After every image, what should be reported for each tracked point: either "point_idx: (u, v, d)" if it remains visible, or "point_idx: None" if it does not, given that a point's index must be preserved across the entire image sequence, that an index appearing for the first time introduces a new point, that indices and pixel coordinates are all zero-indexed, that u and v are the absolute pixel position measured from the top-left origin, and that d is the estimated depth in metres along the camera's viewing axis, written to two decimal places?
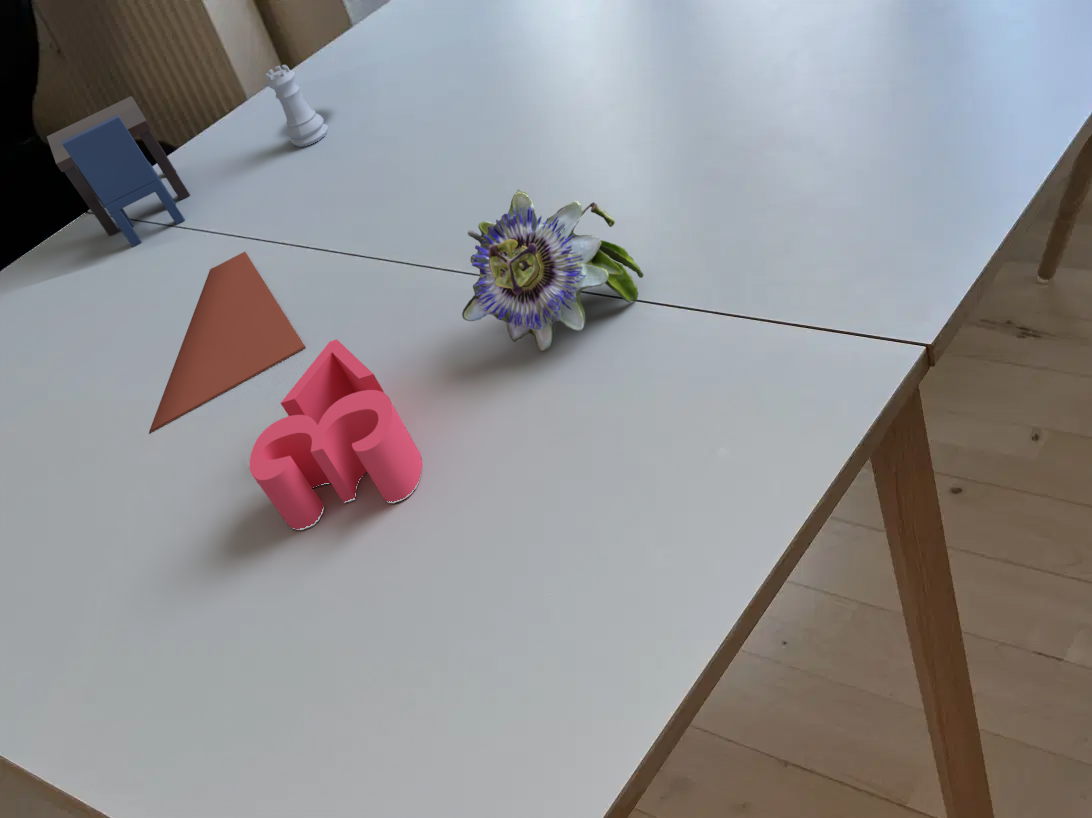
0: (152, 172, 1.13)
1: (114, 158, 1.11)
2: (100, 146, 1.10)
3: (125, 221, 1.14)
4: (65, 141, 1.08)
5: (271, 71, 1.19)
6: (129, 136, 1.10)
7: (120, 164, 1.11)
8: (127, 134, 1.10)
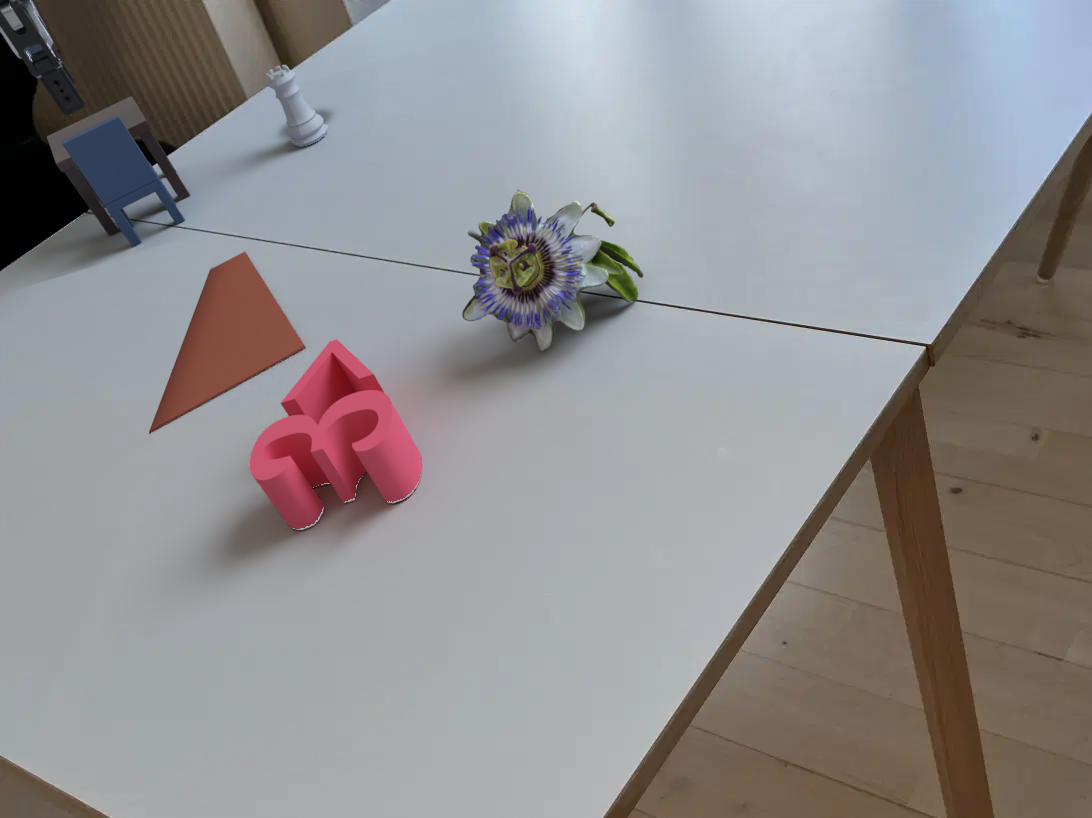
0: (152, 172, 1.13)
1: (114, 158, 1.11)
2: (100, 146, 1.10)
3: (125, 221, 1.14)
4: (65, 141, 1.08)
5: (271, 71, 1.19)
6: (129, 136, 1.10)
7: (120, 164, 1.11)
8: (127, 134, 1.10)
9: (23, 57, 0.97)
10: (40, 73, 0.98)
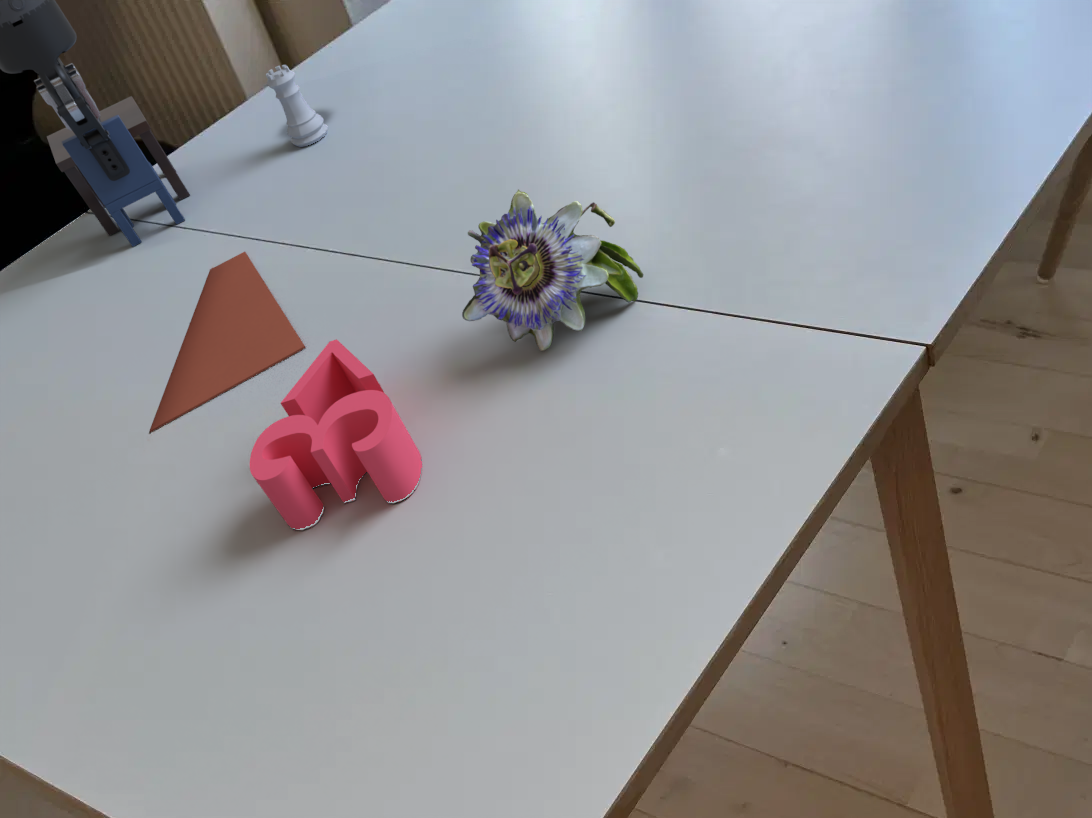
0: (152, 172, 1.13)
1: None
2: None
3: (125, 221, 1.14)
4: (65, 141, 1.08)
5: (271, 71, 1.19)
6: (129, 136, 1.10)
7: None
8: (127, 134, 1.10)
9: (81, 139, 1.05)
10: (91, 145, 1.06)
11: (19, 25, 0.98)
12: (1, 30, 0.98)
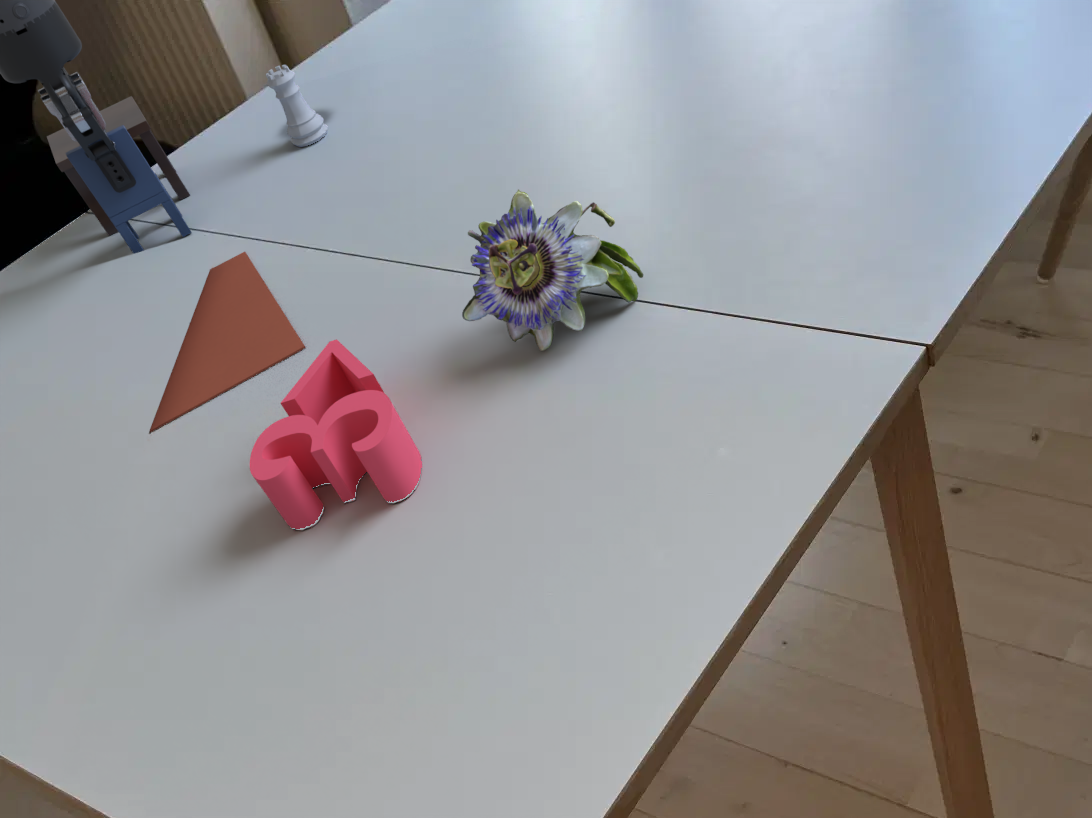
0: (158, 183, 1.10)
1: None
2: None
3: (130, 234, 1.11)
4: (69, 152, 1.05)
5: (271, 71, 1.19)
6: (135, 147, 1.07)
7: None
8: (133, 145, 1.07)
9: (86, 150, 1.02)
10: (96, 156, 1.03)
11: (23, 33, 0.96)
12: (4, 39, 0.95)
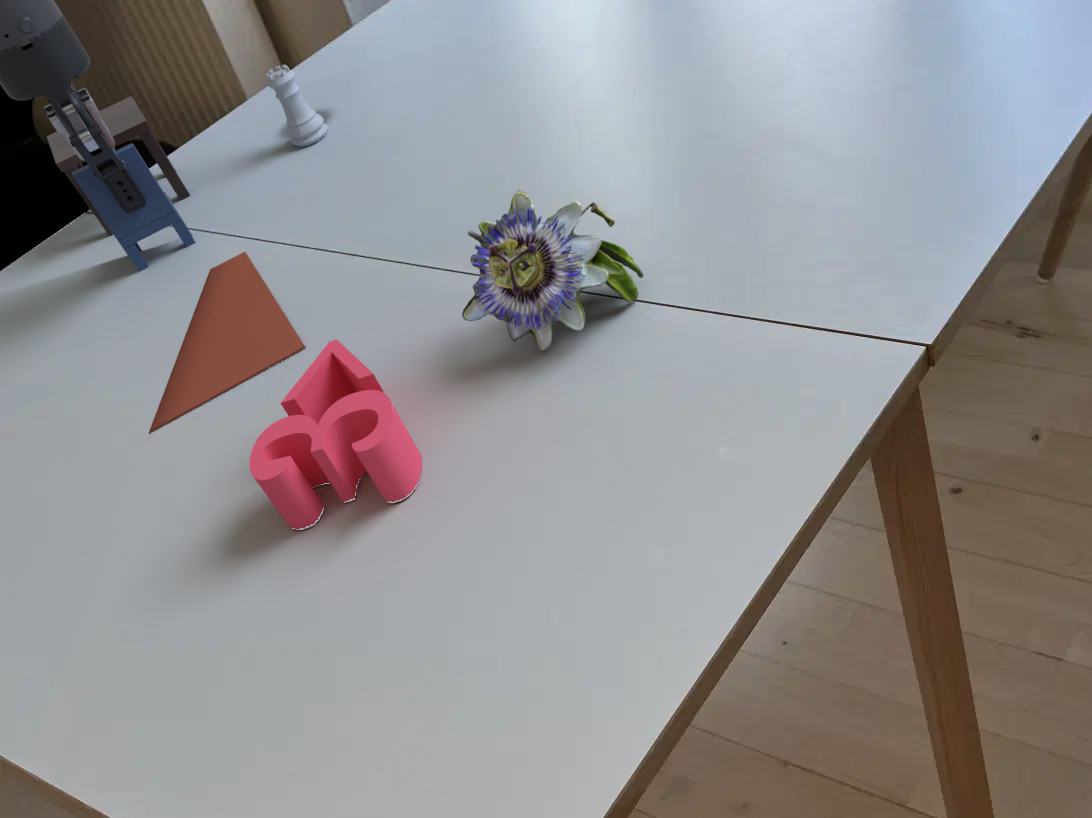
0: (168, 204, 1.05)
1: None
2: None
3: (139, 256, 1.07)
4: (75, 172, 1.01)
5: (271, 71, 1.19)
6: (144, 166, 1.03)
7: None
8: (142, 164, 1.03)
9: (94, 170, 0.97)
10: (105, 176, 0.99)
11: (29, 49, 0.91)
12: (9, 54, 0.91)
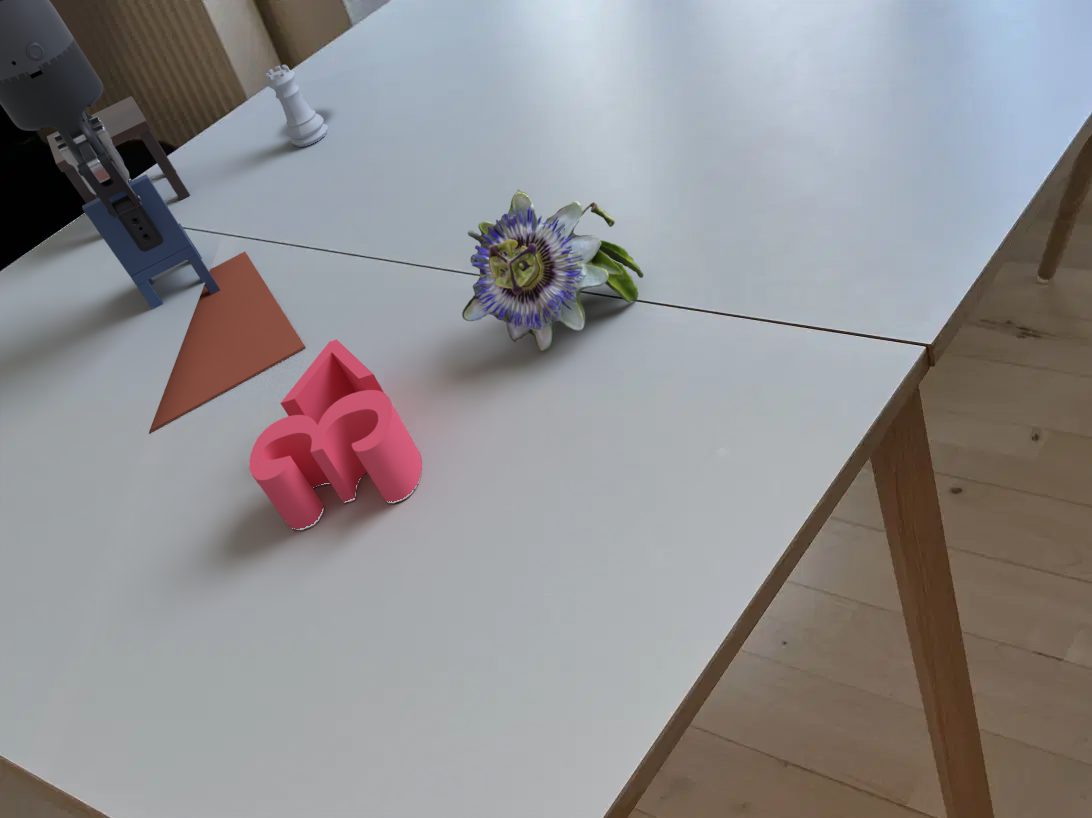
0: (184, 238, 0.99)
1: None
2: None
3: (153, 293, 1.00)
4: (86, 205, 0.94)
5: (271, 71, 1.19)
6: (159, 198, 0.96)
7: None
8: (157, 196, 0.96)
9: (107, 205, 0.90)
10: (120, 214, 0.92)
11: (38, 76, 0.84)
12: (17, 82, 0.84)
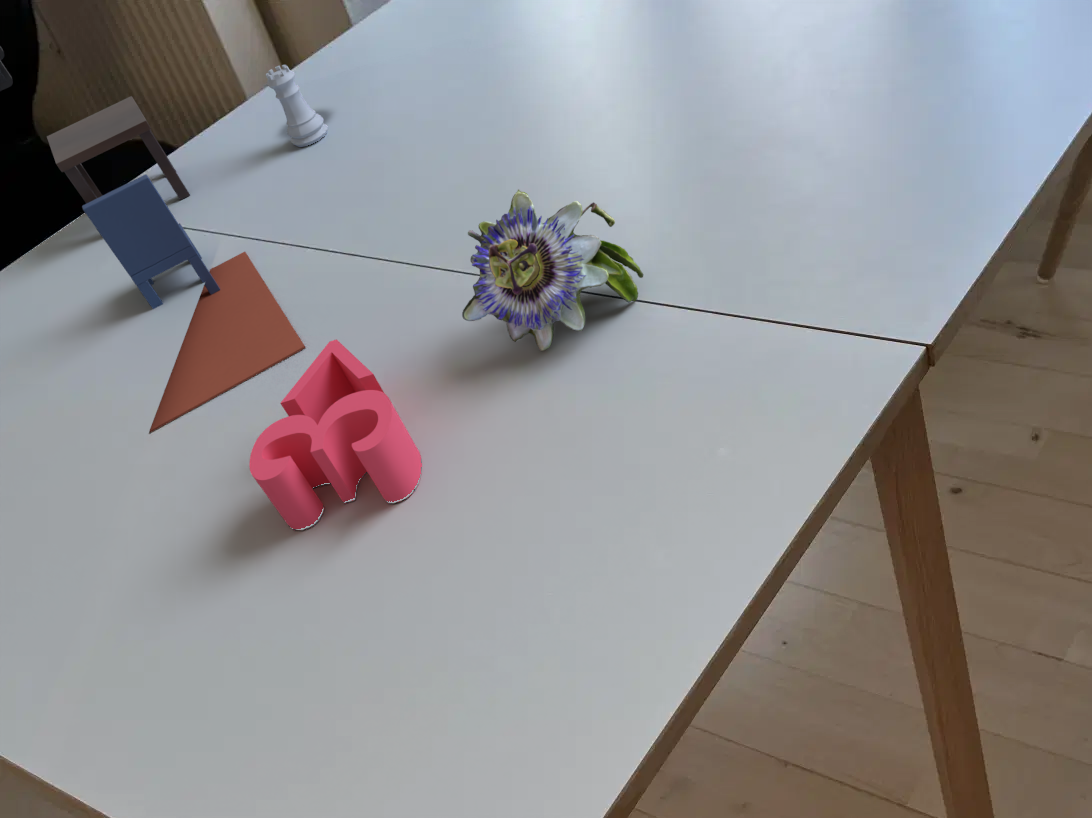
0: (184, 238, 0.99)
1: (142, 223, 0.97)
2: (126, 211, 0.95)
3: (153, 293, 1.00)
4: (86, 205, 0.94)
5: (271, 71, 1.19)
6: (159, 198, 0.96)
7: (148, 230, 0.97)
8: (157, 196, 0.96)
9: None
10: None
11: None
12: None
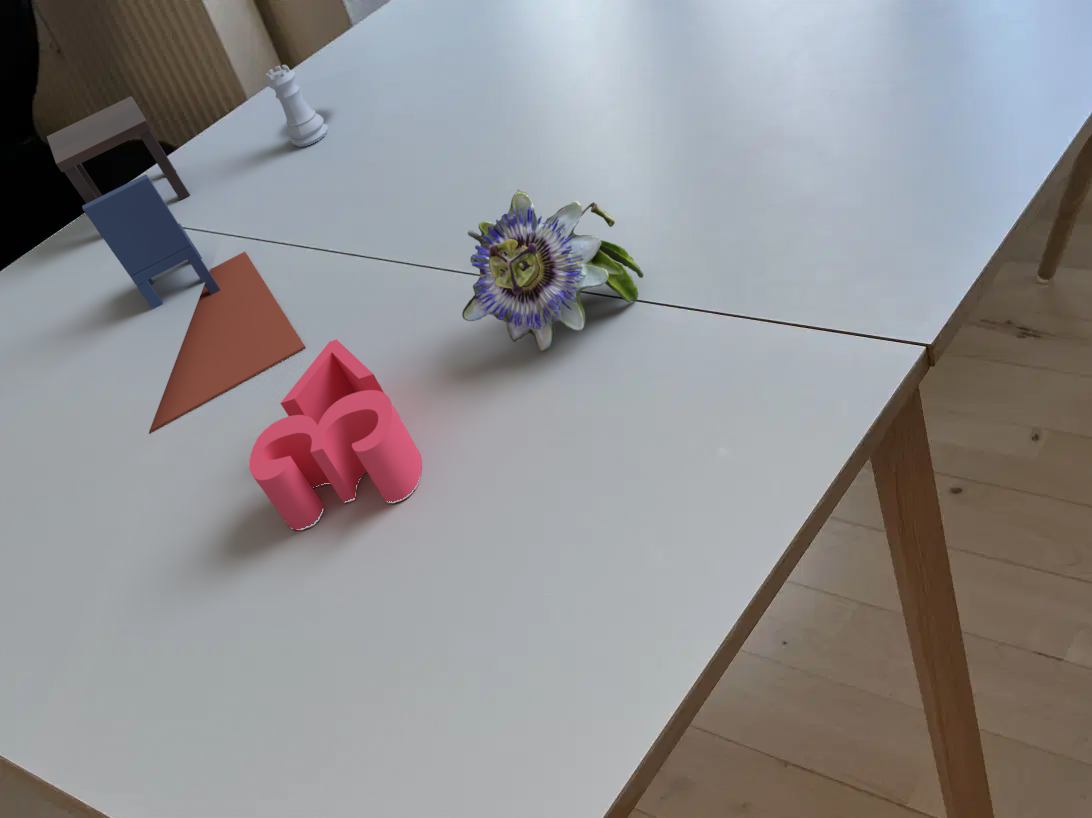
0: (184, 238, 0.99)
1: (142, 223, 0.97)
2: (126, 211, 0.95)
3: (153, 293, 1.00)
4: (86, 205, 0.94)
5: (271, 71, 1.19)
6: (159, 198, 0.96)
7: (148, 230, 0.97)
8: (157, 196, 0.96)
9: None
10: None
11: None
12: None
